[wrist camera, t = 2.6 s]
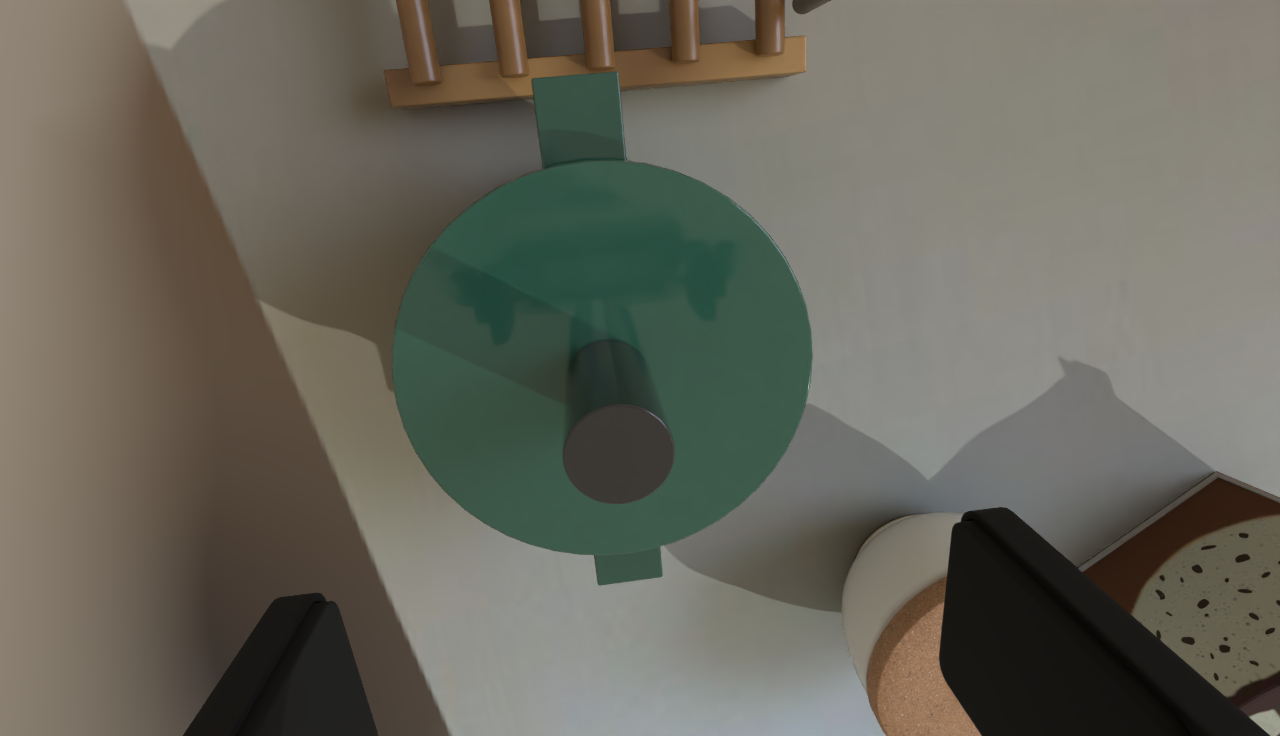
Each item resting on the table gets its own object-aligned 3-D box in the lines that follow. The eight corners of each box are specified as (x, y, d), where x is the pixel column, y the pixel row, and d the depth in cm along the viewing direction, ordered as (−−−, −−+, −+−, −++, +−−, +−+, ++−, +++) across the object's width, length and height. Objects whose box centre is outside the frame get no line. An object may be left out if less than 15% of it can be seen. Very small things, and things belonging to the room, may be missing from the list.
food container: (1092, 649, 38) (1263, 819, 28) (1045, 591, 36) (1211, 752, 26) (1280, 523, 36) (1531, 661, 26) (1241, 453, 34) (1497, 576, 24)
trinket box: (964, 438, 32) (1113, 553, 23) (1029, 581, 35) (1179, 729, 27) (777, 542, 33) (851, 691, 24) (859, 671, 36) (949, 841, 28)
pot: (496, 490, 30) (468, 617, 22) (422, 105, 24) (348, 91, 16) (735, 460, 31) (791, 573, 23) (722, 79, 25) (791, 53, 17)
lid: (444, 556, 22) (400, 701, 16) (357, 180, 18) (255, 201, 12) (799, 510, 23) (872, 633, 17) (801, 138, 18) (901, 141, 13)
